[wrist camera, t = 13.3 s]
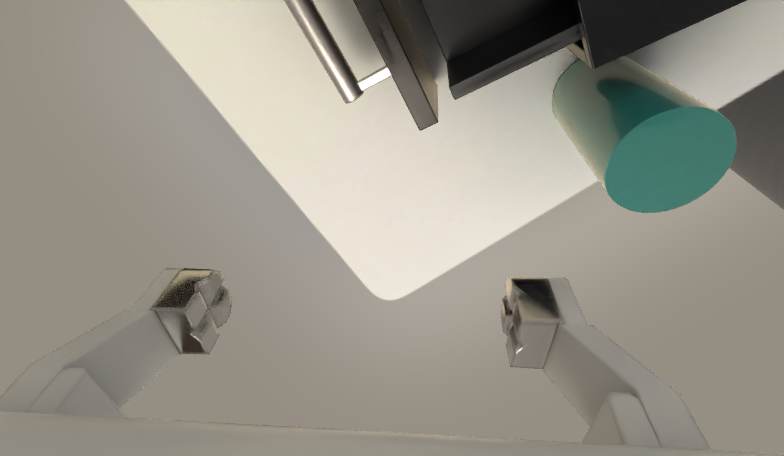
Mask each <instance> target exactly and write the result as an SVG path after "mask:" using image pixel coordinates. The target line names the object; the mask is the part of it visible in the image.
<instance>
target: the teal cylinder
mask: <svg viewBox="0 0 784 456" xmlns="http://www.w3.org/2000/svg"><path fill="white" fill-rule="evenodd" d="M552 108H553V112H554V115H555V117H556V119H557V120H558V122H559V123H560V125H561V126H562V128H563V129H564V130H565V132H566V133H567V135H568V136H569V138H570V139H571V141H572V142H573V144H574V145H575V147H576V148H577V149H578V151H579V152H580V154H581V155H582V157H583V158H584V160H585V161H586V163H587V164H588V165H589V167H590V168H591V170H592V171H593V173H594V174H595V176H596V177H597V179H598V180H599V181H600V183H601V184H602V186H603V187H604V189H605V190H606V191H607V193H608V195H609V196H610V197H611V198H612V200H613V201H615V202H616V203H617V204H618V205H620V206H622V207H623V208H626V209H628V210H631V211H636V212H642V213H655V212H662V211H668V210H671V209H675V208H678V207H680V206H683V205H685V204H687V203H690V202H692V201H693V200H695V199H697V198H699V197H700V196H702V195H703V194H705V193H706V192H707V191H709V190H710V189H711V188H712V187H713V186H714V185H715V184H716V183H717V182H718V181H719V180H720V179H721V178H722V177H723V176H724V174H725V173H726V171H727V170H728V169H729V167H730V165H731V163H732V161H733V158H734V156H735V152H736V147H737V138H736V133H735V130H734V127H733V125H732V124H731V122H730V121H729V120H728V119H727V118H726V117H725V116H724V115H722V114H721V113H719V112H718V111H716V110H714V109H713V108H711V107H709V106H708V105H706V104H705V103H703V102H701V101H700V100H698V99H696V98H695V97H693V96H691V95H690V94H688V93H686V92H685V91H683V90H681V89H680V88H678V87H676V86H675V85H673V84H671V83H670V82H668V81H666V80H665V79H663V78H661V77H660V76H658V75H656V74H655V73H653V72H651V71H650V70H648V69H646V68H645V67H643V66H641V65H640V64H638V63H637V62H635V61H633V60H632V59H630V58H628V57H627V56H625V55H624V56H622V57H620V58H618V59H615V60H613V61H611V62H609V63H607V64H604V65H602V66H600V67H598V68H595V69H592V68H591V67H590V66H589V65H587V64H586V63H585V62H584V61H582V60H581V59H579V60H578V61H576V62H575V63H573V64H572V65H571V66H570V67H569V68H568V69H567V70H566V71H565V72H564V73H563V75H562V76H561V77H560V79H559V80H558V82H557V84H556V86H555V89H554V92H553V97H552Z"/></svg>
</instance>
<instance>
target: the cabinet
mask: <svg viewBox="0 0 784 456" xmlns="http://www.w3.org/2000/svg"><path fill="white" fill-rule="evenodd" d="M744 1H746V0H573V3H574V8H575V12H576V16H577V20H578V25H579V29H580V33H581V37H582V39H581V40H579V41H577V42H575V43H572V44H570V45H568V46H566V48H568V49H569V50H570V51H571V52H572V53H574V54H575V55H576V56H577V57H579V58H580V59H581V60H582V61H584V62H585V63H586V64H587V65H589V66H590V67H591V68H592V69H595V68H598V67H600V66H602V65H604V64H607V63H609V62H611V61H613V60H615V59H618V58H620V57H622V56H624V55H627V54H629V53H631V52H633V51H635V50H638V49H640V48H642V47H644V46H647V45H649V44H651V43H653V42H655V41H658V40H660V39H662V38H664V37H667V36H669V35H671V34H673V33H675V32H678V31H680V30H682V29H684V28H687V27H689V26H691V25H693V24H695V23H698V22H700V21H702V20H704V19H707V18H709V17H711V16H713V15H715V14H718V13H720V12H722V11H724V10H726V9H729V8H731V7H733V6H735V5H738V4H740V3H742V2H744Z"/></svg>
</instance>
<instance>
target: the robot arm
mask: <svg viewBox="0 0 784 456" xmlns="http://www.w3.org/2000/svg"><path fill="white" fill-rule="evenodd" d="M223 281H224V278H223V276H222V273H221V271H218V270H209V269H187V268H184V269H180V268H166V269H164V270H163V271H161V272H160V274H159V275H158V276H157V277H156V279H155V280H154V281H153V283H152V284H151V285H150V286H149V287H148V289H147V290H146V291H145V292H144V294H143V295H142V296H141V297H140V299H139V300H138V301H137V302H136V304H135V305H134V306H133V307H132V309H131V310H124V311H122V312H120V313H119V314H117V315H115V316H114V317H112V318H110V319H109V320H106V321H105V322H103V323H101V324H100V325H98V326H96V327H94V328H93V329H91V330H89V331H87V332H85V333H84V334H82V335H80V336H78V337H77V338H75V339H73V340H71V341H70V342H68V343H66V344H64V345H63V346H61V347H59V348H57V349H56V350H54V351H52V352H50V353H49V354H47V355H45V356H43V357H42V358H40V359H38V360H36V361H35V362H33V363H31V364H30V365H29V366H28V367H27V368H26V369H25V370H24V371H23V372H22V373H21V375H20V376H19V377H18V378H17V379H16V380H15V381H14V382H13V383H12V384H11V385H10V386H9V387H8V388H7V390H6V391H5V392H4V393H3V394H2V395H1V396H0V456H784V454H777V453H759V452H740V451H722V450H711V448H710V446H709V444H708V443H707V441H706V439H705V437H704V435H703V434H702V432H701V430H700V428H699V426H698V425H697V423H696V421H695V419H694V417H693V416H692V414H691V412H690V410H689V408H688V407H687V405H686V403H685V401H684V399H683V398H682V396H681V394H679V393H678V392H677V391H676V390H675V389H673V388H672V387H671V386H670V385H668V384H667V383H666V382H664V381H663V380H662V379H661V378H659V377H658V376H657V375H655V374H654V373H653V372H652V371H651V370H649V369H648V368H646V367H645V366H644V365H643V364H642V363H640V362H639V361H638V360H636V359H635V358H634V357H633V356H631V355H630V354H629V353H627V352H626V351H625V350H624V349H623V348H621V347H620V346H619V345H618V344H616V343H615V342H614V341H613V340H611V339H610V338H609V337H607V336H606V335H605V334H604V333H602V332H601V331H600V330H598V329H597V328H596V327H595V326H593V325H587V323H586V321H585V319H584V316H583V314H582V312H581V309H580V307H579V305H578V302H577V300H576V297H575V295H574V293H573V290H572V288H571V286H570V283H569V281H568V279H566V278H565V277H546V278H544V277H508V278H507V280H506V285H505V289H506V294H507V295H506V296H505V297H504V298H503V300H502V306H501V319H502V327H503V332H504V333H505V334H506V335H507V336H508V338H507V343H506V348H507V353H508V358H509V363H510V367H520V368H535V369H543V371H544V373H545V374H546V375H547V376H548V377H549V379H551V381H552V382H553V383H554V384H555V385H556V387H557V388H558V389H559V390H560V392H561V393H562V394H563V395H564V396H565V398H566V399H567V400H568V401H569V402H570V403H571V404H572V406H573V407H574V408H575V409H576V410H577V412H578V413H579V414H580V415H581V416H582V418H583V419H584V420H585V421H586V422H587V424H588V425H589V426H590V428H589V430H588V432H587V434H586V435H585V437H584V439H583V441H582V443H579V442H559V441H543V440H525V439H507V438H488V437H471V436H453V435H452V436H451V435H433V434H417V433H398V432H380V431H362V430H344V429H326V428H308V427H289V426H271V425H253V424H235V423H216V422H199V421H181V420H164V419H145V418H128V417H127V416H126V415H125V414H124V413H123V412H122V410H121V409H120V407H121V406H122V405H123V404H125V403H126V402H127V401H128V400H129V399H130V398H131V397H133V396H134V395H135V394H136V393H137V392H138V391H140V390H141V389H142V388H143V387H144V386H146V385H147V384H148V383H149V382H150V381H151V380H153V379H154V378H155V377H156V376H157V375H158V374H159V373H161V372H162V371H163V370H164V369H165V368H167V367H168V366H169V365H170V364H171V363H172V362H173V361H175V360H176V359H177V358H178V357H179V356H180V354H210V352H211V350H212V348H213V347H214V345H215V343H216V341H217V339H218V337H219V335H220V334H219V331H218V328H219V327H220V326H222V325H223V324H224V323H226V322H227V320H228V317H229V316H230V313H231V307H232V299H231V296H230V292H229V290H227V289H226V288H225V287H224V286H222V283H223Z"/></svg>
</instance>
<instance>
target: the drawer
mask: <svg viewBox="0 0 784 456" xmlns="http://www.w3.org/2000/svg"><path fill="white" fill-rule="evenodd" d="M284 1H285V3H286V4H287V6H288V8H289V9H290V11H291V13H292V14H293V16H294V18H295V19H296V21H297V23H298V24H299V26H300V28H301V29H302V31H303V33H304V34H305V36H306V38H307V39H308V41H309V43H310V45H311V46H312V48H313V50H314V51H315V53H316V55H317V56H318V58H319V60H320V61H321V63H322V65H323V66H324V68H325V70H326V71H327V73H328V75H329V76H330V78H331V80H332V81H333V83H334V85H335V86H336V88H337V90H338V91H339V93H340V95H341V96H342V98H343V100H344V102H345V103H350V102H352V101H354V100H356V99H358V98H359V97H360V96H361V95H362V94H363V93H364V92H363V91H364V90H366V89H367V88H369V87H371V86H373V85H375V84H377V83H379V82H380V81H382V80H384V79H386V78H388V77H390V76H392V77H393V79H394V81H395V83H396V85H397V87H398V89H399V91H400V93H401V95H402V97H403V99H404V101H405V103H406V105H407V107H408V109H409V111H410V113H411V115H412V116H413V118H414V120H415V122H416V124H417V126H418V128H419V130H423V129H425V128H427V127H429V126H431V125H433V124H436V123H438V93H437V84H436V82H435V80H434V78H433V76H432V73H431V71H430V69H429V67H428V65H427V62H426V60H425V58H424V56H423V54H422V51H421V49H420V47H419V45H418V43H417V40H416V38H415V36H414V34H413V32H412V29H411V27H410V25H409V23H408V21H407V18H406V16H405V14H404V12H403V10H402V7H401V5H400V3H399V1H398V0H353V1H354V3H355V5H356V7H357V9H358V11H359V13H360V15H361V17H362V19H363V21H364V22H365V24H366V26H367V28H368V30H369V32H370V34H371V36H372V38H373V40H374V42H375V44H376V46H377V48H378V50H379V52H380V54H381V56H382V58H383V60H384V62H385V64H386V66H384V67H382V68H380V69H379V70H377V71H375V72H373V73H371V74H369V75H368V76H366V77H364V78H362V79H360V80H359V81H357V79H356V77H355V75H354V73H353V72H352V70H351V68H350V66H349V65H348V63H347V61H346V59H345V57H344V56H343V54H342V52H341V50H340V49H339V47H338V45H337V43H336V41H335V40H334V38H333V36H332V34H331V32H330V31H329V29H328V27H327V25H326V24H325V22H324V20H323V18H322V16H321V15H320V13H319V11H318V9H317V8H316V6H315V4H314V2H313V0H284ZM420 1H421V3H422V6H423V8H424V10H425V13H426V15H427V17H428V20H429V22H430V24H431V27H432V29H433V31H434V34H435V36H436V38H437V41H438V43H439V45H440V48H441V50H442V53H443V55H444V57H445V60H446V62H447V69H448V79H449V88H450V90H451V93H452V95H453V97H454V99H455V100H456V99H458V98H460V97H462V96H464V95H466V94H468V93H470V92H473V91H475V90H477V89H479V88H481V87H483V86H485V85H487V84H489V83H491V82H493V81H495V80H498V79H500V78H502V77H504V76H506V75H508V74H510V73H512V72H514V71H516V70H518V69H520V68H523V67H525V66H527V65H529V64H531V63H533V62H535V61H537V60H539V59H541V58H543V57H545V56H547V55H550V54H552V53H554V52H556V51H558V50H560V49H562V48H564V47H566V46H568V45H570V44H572V43H575V42H577V41H579V40H581V39H582V37H581V33H580V29H579V25H578V20H577V16H576V12H575V8H574V3H573V0H420Z"/></svg>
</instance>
